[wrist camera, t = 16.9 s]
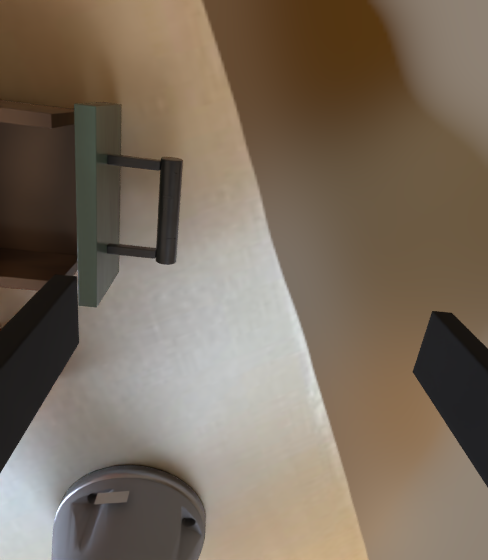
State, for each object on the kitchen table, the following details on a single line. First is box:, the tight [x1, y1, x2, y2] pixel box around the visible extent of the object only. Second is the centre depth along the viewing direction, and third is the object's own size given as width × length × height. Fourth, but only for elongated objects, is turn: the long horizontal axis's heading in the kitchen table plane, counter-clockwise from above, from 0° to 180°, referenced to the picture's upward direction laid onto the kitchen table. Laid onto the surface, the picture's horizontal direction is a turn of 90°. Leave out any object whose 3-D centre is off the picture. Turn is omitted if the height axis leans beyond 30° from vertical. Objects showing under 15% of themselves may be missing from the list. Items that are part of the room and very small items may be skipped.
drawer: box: [0, 100, 183, 307], centre depth 29 cm, size 19×12×6 cm, turn 83°
